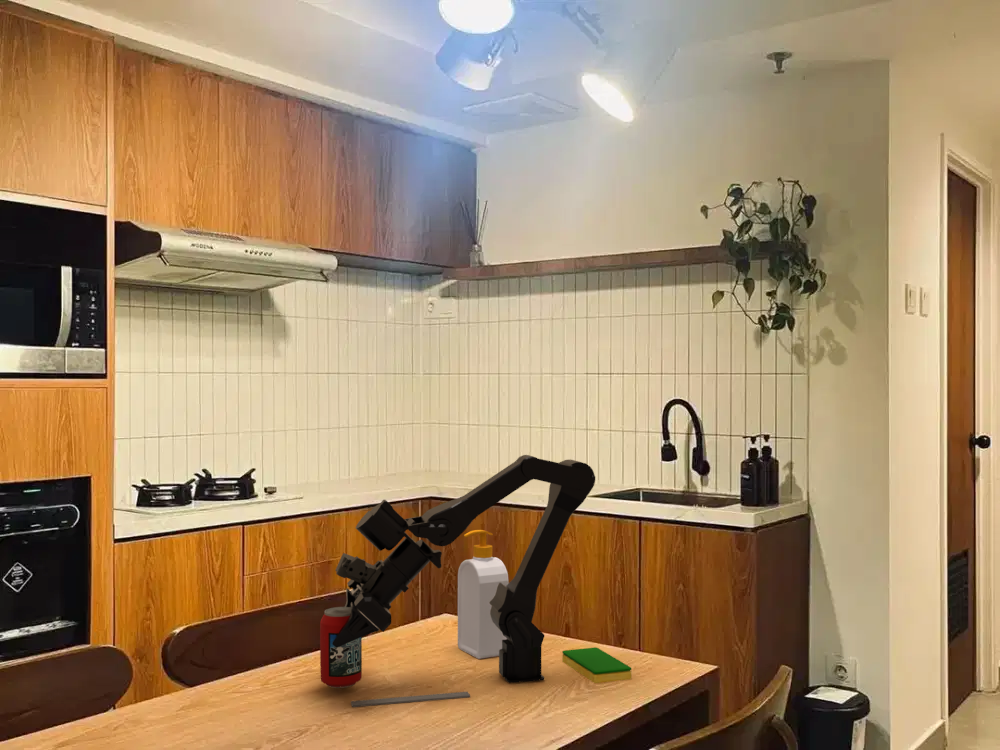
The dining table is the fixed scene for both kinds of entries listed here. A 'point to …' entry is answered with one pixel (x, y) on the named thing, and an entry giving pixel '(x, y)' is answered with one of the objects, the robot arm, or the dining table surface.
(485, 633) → the soap bottle
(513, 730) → the dining table surface
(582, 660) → the dish sponge
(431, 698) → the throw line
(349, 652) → the beverage can
